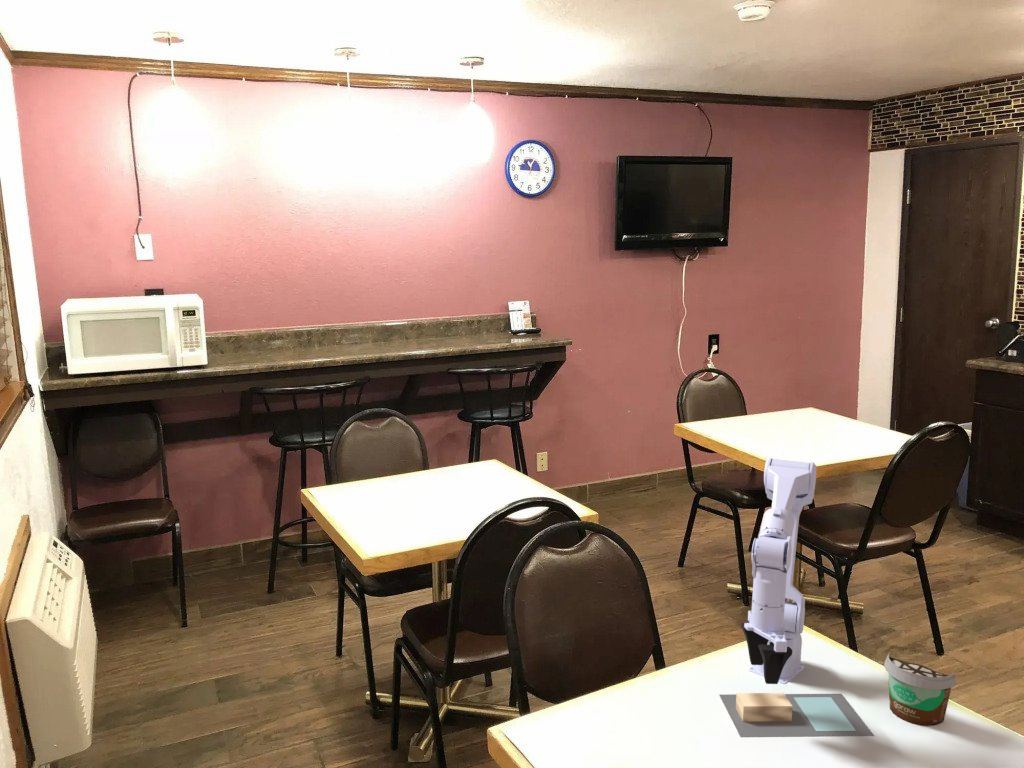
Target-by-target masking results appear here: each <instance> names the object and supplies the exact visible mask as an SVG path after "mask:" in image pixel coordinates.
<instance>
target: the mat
mask: <svg viewBox="0 0 1024 768" xmlns="http://www.w3.org/2000/svg"><path fill="white" fill-rule="evenodd" d="M784 694H785V695H786V697H787V698H788V700H789V701H790V703H791V704H792V706H793V707H792V721H755V722H743V721H742V719H741V717H740V715H739V713H738V711H737V710H736V694H729V693H728V694H719V697H720V700H721V702H722V703H723V705H724V708H725V710H726V711H727V713H728V715H729V717H730V719H731V721H732V723H733V725H734V727H735V729H736V730H737V733H738V735H739V737H740V738H790V737H793V738H798V737H799V738H801V737H804V738H805V737H816V738H817V737H875V734H874V733H873V731H872V730H871V729H870V728H869V727H868V725H867V724H866V723H865V722H864V721H863V719H862V718H861V717H860V715H859V714H858V713H857V711H855V708H853V706H852V705H851V704H850V703H849V701H848V700H847V699H846V697H845V696H844V695H843V693H784Z"/></svg>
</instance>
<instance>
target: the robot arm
mask: <svg viewBox="0 0 1024 768" xmlns="http://www.w3.org/2000/svg"><path fill="white" fill-rule="evenodd" d="M816 482H817V465H816V464H815V462H813V461H811V462H807V461H806V462H805V461H798V460H797V461H795V460H786V459H779V458H778V459H775V458H772V457H769V458H767V460H766V461H765V464H764V471H763V484H764V489H765V490H764V491H765V494H766V498H767V499H768V500H771V501H772V502H771V508H769V509H767V510H765V512H764V513H763V517H762V521H761V525H760V529H759V533H758V538H756V537H754V539H753V542H752V547H751V565H752V571H751V576H752V577H753V581H752V599H751V610H748V611H747V621H748V622H744V624H741V630H742V632H743V634H744V637H745V639H746V644H747V650H748V657H749V662H750V665H751V667H749V668H748V671H749V672H752V673H754V674H757V675H758V676H762V677H763V678H764V682H765V684H767V685H778V684H779V683H780V684H782V685H786V684H787V683H788V682H790V681H791V680H792V679H793V678H795V677H796V676H797V675H798V674H799V673H800V672H801V671H804V669H805V666H804V665H802V664H801V662H802V661H801V659H802V645H803V638H802V634H803V630H804V628H805V627H804V626H805V625H804V624H805V617H806V608H805V607H806V599H805V597H804V595H803V594H802V593H801V592H800V591H799V590H798V589H797V588H796V586H794V585H793V582H794V574H795V573H794V572H795V563H796V552H797V544H798V543H797V541H798V532H799V522H800V521H799V520H800V516H801V512H802V511H803V508H804V507H805V506H807V505H811V504H812V503H813V500H814V498H815V488H816ZM787 600H791V601H787ZM792 601H794V602H792Z"/></svg>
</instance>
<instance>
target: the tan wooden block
mask: <svg viewBox="0 0 1024 768" xmlns="http://www.w3.org/2000/svg"><path fill="white" fill-rule="evenodd" d="M785 694H786V693H785V692H750V693H749V692H748V693H746V692H745V693H743V692H742V693H741V692H737V693H736V710H737V711H738V713H739V715H740V717H741V719H742V721H743V722H755V721H792V707H793V706H792V704H791V703H790V701H789V700H788V698H787V697H786V695H785Z"/></svg>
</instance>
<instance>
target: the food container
mask: <svg viewBox="0 0 1024 768" xmlns="http://www.w3.org/2000/svg"><path fill="white" fill-rule="evenodd" d="M883 664H884V669H885V671H886V672H887V673H888V674H887V675H888V697H889V698H888V701H889V710H890V711H891V712H892V714H893V715H895V716H896V717H897V718H898V719H900V720H902V721H904V722H907V723H910V724H913V725H917V726H923V727H934V726H939V725H941V724H942V723H944V721H945V718H946V713H947V708H948V704H949V701H950V700H949V699H950V695H951V691H952V688H953V687H955V686H956V685H957V678H956V677H957V676H955V672H952V673H951V674H950V675H949V674H945V673H941V672H939V671H936V670H933V669H932V668H929V667H927V666H925V665H922V664H919V663H913V662H909V661H904V660H901V659H897V658H895V657H892V656H891V652H888V654H887V656H886V657H885V661H884V663H883Z"/></svg>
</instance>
